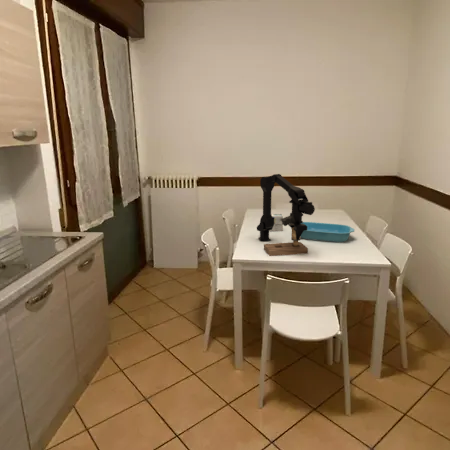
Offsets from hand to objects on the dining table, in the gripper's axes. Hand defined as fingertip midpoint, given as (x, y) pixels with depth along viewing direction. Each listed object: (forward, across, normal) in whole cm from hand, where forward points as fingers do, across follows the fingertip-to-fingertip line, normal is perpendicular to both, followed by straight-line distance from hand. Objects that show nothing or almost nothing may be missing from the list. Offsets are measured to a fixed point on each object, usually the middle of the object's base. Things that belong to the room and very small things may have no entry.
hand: (295, 238), depth 207 cm
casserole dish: (+8, -22, +26) cm, 35 cm away
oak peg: (+4, 0, 0) cm, 4 cm away
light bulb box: (+8, -44, 0) cm, 45 cm away
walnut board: (+7, 0, -6) cm, 9 cm away
